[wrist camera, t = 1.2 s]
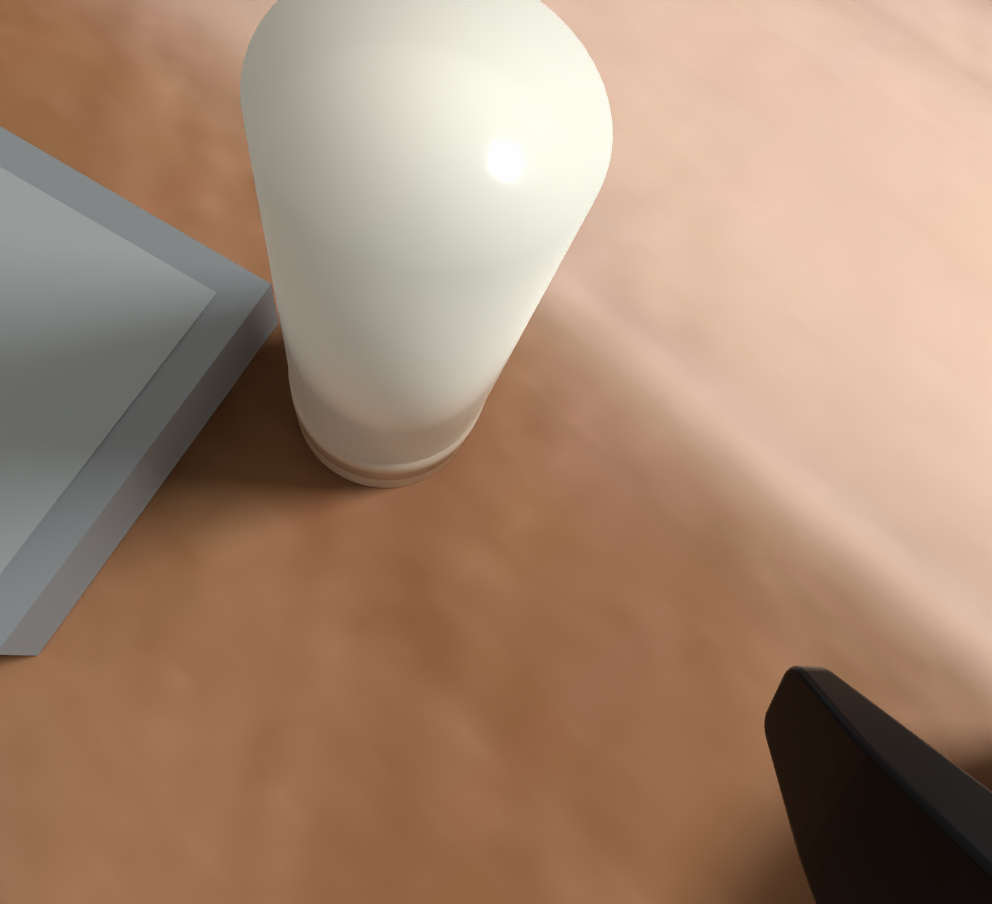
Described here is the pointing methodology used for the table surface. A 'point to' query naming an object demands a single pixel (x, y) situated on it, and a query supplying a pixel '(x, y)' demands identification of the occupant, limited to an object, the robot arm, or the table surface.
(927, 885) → the robot arm
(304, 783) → the table surface
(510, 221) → the white cylinder
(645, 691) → the table surface
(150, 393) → the base
